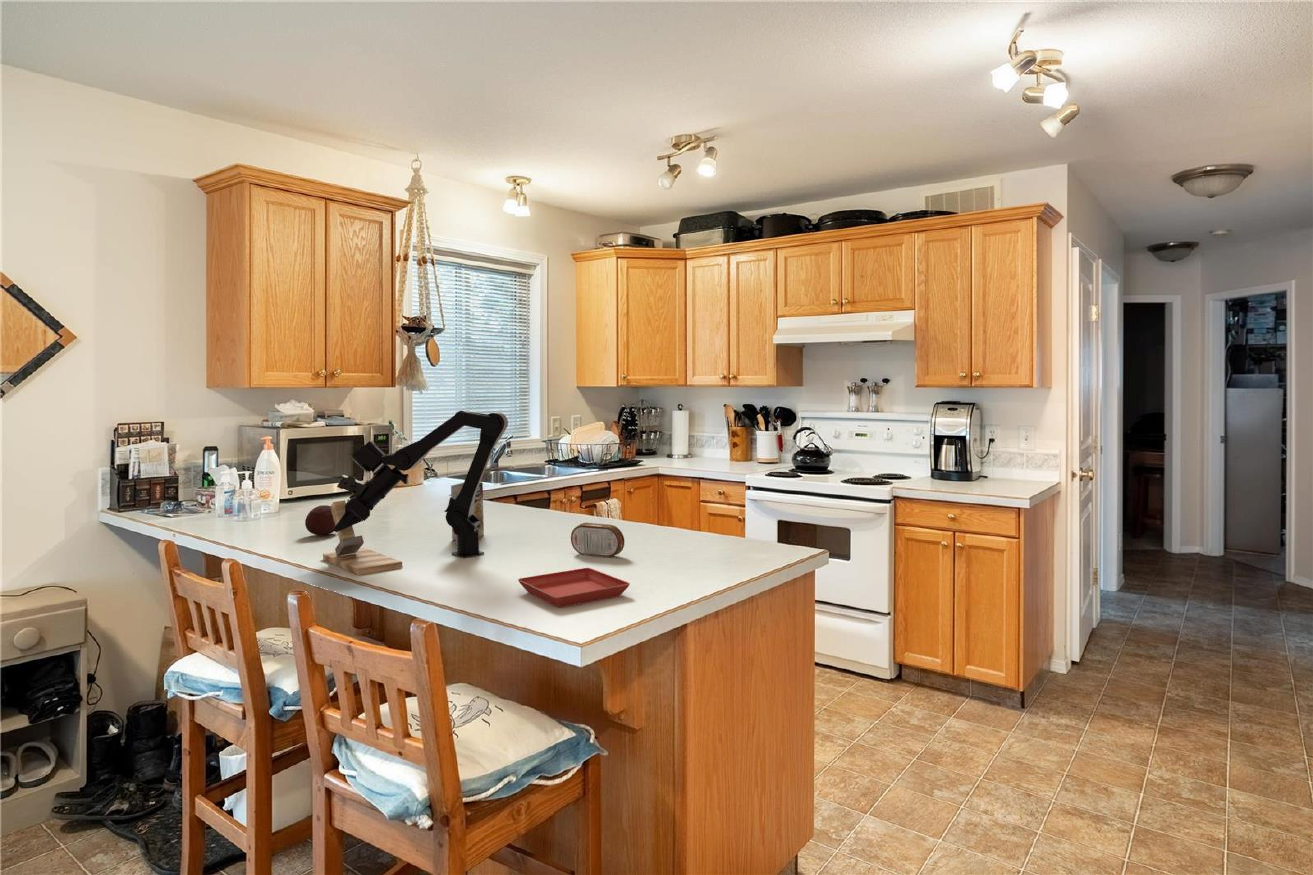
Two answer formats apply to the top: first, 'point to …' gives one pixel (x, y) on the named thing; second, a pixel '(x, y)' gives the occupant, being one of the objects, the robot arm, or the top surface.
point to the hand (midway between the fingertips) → (335, 529)
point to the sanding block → (345, 532)
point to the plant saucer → (574, 586)
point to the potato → (320, 520)
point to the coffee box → (477, 506)
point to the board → (363, 561)
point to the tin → (597, 539)
